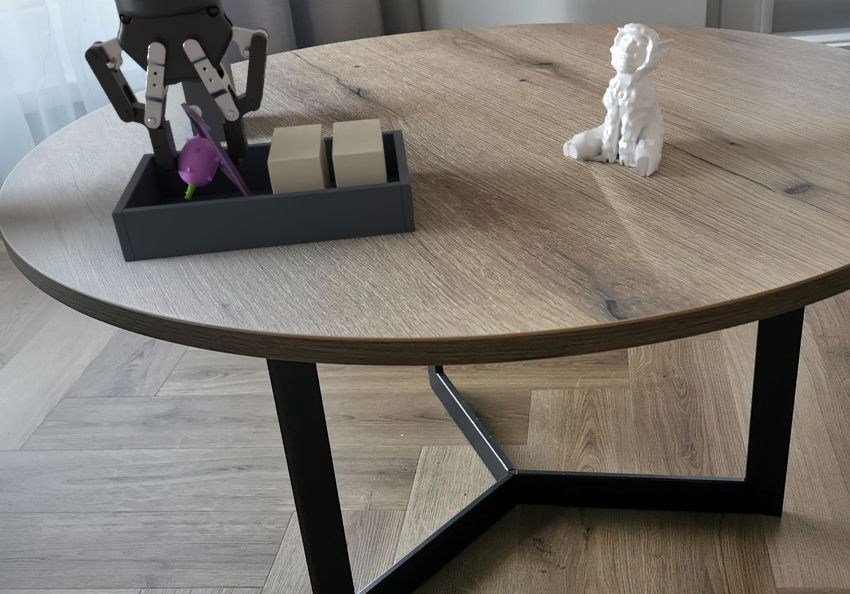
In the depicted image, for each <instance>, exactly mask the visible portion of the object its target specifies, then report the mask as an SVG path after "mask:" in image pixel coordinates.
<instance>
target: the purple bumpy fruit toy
mask: <svg viewBox="0 0 850 594" xmlns="http://www.w3.org/2000/svg"><path fill="white" fill-rule="evenodd" d="M180 106H181V108H182V109H183V111H184V113H185V114H186V116H187V118H188V119H189V122H190V121H191V122H192V124H193V125H194V127H195V129H196V130H197V132H198V133H199V134H197V136H193V135H192V137H191V138H188V137H185V141H186V142H185V144H184V145H183V146H182V148H181V150H180V151H181V152H180V155H179V158H178V171H179V174H180V176H181V178H182V179H183V180H184V181H185V182H186V183H188V184H189V187H188V188H187V189H188V191H187V192H185V193H187V194H186V197H185V198H186V199H187V200H190V199H191V196H192V195H193V192H194V190H195V188H196V187H203V186H205V185H207V184H208V183H209V182H210V181H212V178H213V176H214V174H215V172H216V170H217V167H218V165H219V167H220V168H221V170H222V171H223V172H224V173H225V174H226V175H227V177H228V178H229V179H230V180H231V181H232V182H233V183H234V184H235V185H236V186H237V187H238V188H239V190H240V191H241V192H242V193H243V194H244V195H245V196H246V197H249V196H253V195H252V194H251V192H250V190H249V189H248V187H247V186H246V184H245V182H244V181H243V179H242V177H241V176H240V174H239V173H238V171H237V169H236V168H235V166H234V165H233V163H232V161H231V160H230V158H229V157H228V155H227V153H226V152H225V150H224V148H223V147H224V146H223V145H222V143H221V141H219V140H218V139H217V137H216V136H215V134H214V132H213V131H212V129H211V128H210V127H209V126H208V125H207V124H206V123H205V122H204V121H203V119H201V116H202V112H201V110H200V108H199V107H197V106H194V105H192V106H188V105H187V104H186V101H183V102H182V103H181V104H180ZM198 124H199V125H200V126H199V125H198ZM200 127H201V128H200ZM202 130H203V131H202ZM203 132H204V133H205V134H204V133H203ZM205 135H206V136H205ZM200 136H201V137H200ZM207 138H208V139H207ZM220 159H221V160H220Z"/></svg>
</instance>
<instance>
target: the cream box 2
mask: <svg viewBox="0 0 850 594" xmlns="http://www.w3.org/2000/svg"><path fill="white" fill-rule="evenodd" d="M381 123H382V122H381V118H369V119H359V120H357V119H356V120H347V121H337V122H333V125H332V136H333V150H332V158H333V164H334V171H335V178H336V185H337V188H340V187H350V186H360V185H370V184H380V183H388V181H387V172H386V164H385V155H384V147H383V139H382V132H383V131H382V124H381Z"/></svg>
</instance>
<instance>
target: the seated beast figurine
mask: <svg viewBox="0 0 850 594" xmlns="http://www.w3.org/2000/svg"><path fill="white" fill-rule="evenodd" d="M617 30H618V32H617V34H616V36H615V37H614V39H613V41H614V44H613V45H612V46H610V48H609V52H610V53H611V61H610V65H611V66H612V67H613V69H614V70H615V71H616V74H615V76H614V77H612V78H610V80H609V84H608V85H609V86H608V87H607V88H606V91H605V93H604V94H603V97H602V99H601V102H602V104H603V106H604V107H605V109H606V111H607V113H606V115H605V117H604V122H603V123H602V124H601V125H599V126H598V127H593V128H590V129H589V130H584V131H580V132H579V133H576V134H574V136H573V137H572V138H570V139H569V140H567V141H566V142H564V143H563V147H562V149H563V155H564V156H566V157H570V158H572V159H574V160H579V159H582V161H583V162H586V161H596V162H602V163H607V161H608V163H609V164H613V163H619V165H620V166H623V165H624V167H632V168H636V170H637V172H638V174H639V175H640V176H641V177H650V176H652V175H653V174H655V172H658V171H659V165H660V164H661V162H662V157H663V156H662V152H663V146H664V142H665V134H666V131H667V127H666V125H665V122H664V116H663V114H662V109H661V108H660V106H659V101H658V100H659V96H658V94H657V93H658V89H657V85H656V83H654V81H653V80H652V78H651V77H652V76H650V73H652V72H653V71H655V70H657V69H658V66H659V64H660V62H661V60H662V58H665V56H667V55H668V54H669V53H670V52H671V50H672V47H673V44H674V41H675V39H674V38H673V39H672V38H670V39H667V40H661V39H660V34H659V33H657V31H656V30H655V29H653V28H651V27H648V26H647V25H646V24H642V23H640V22H637V23H633V22H630V23H626V24H625V25H624V27H619V26H618V27H617ZM618 155H619V156H618Z"/></svg>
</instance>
